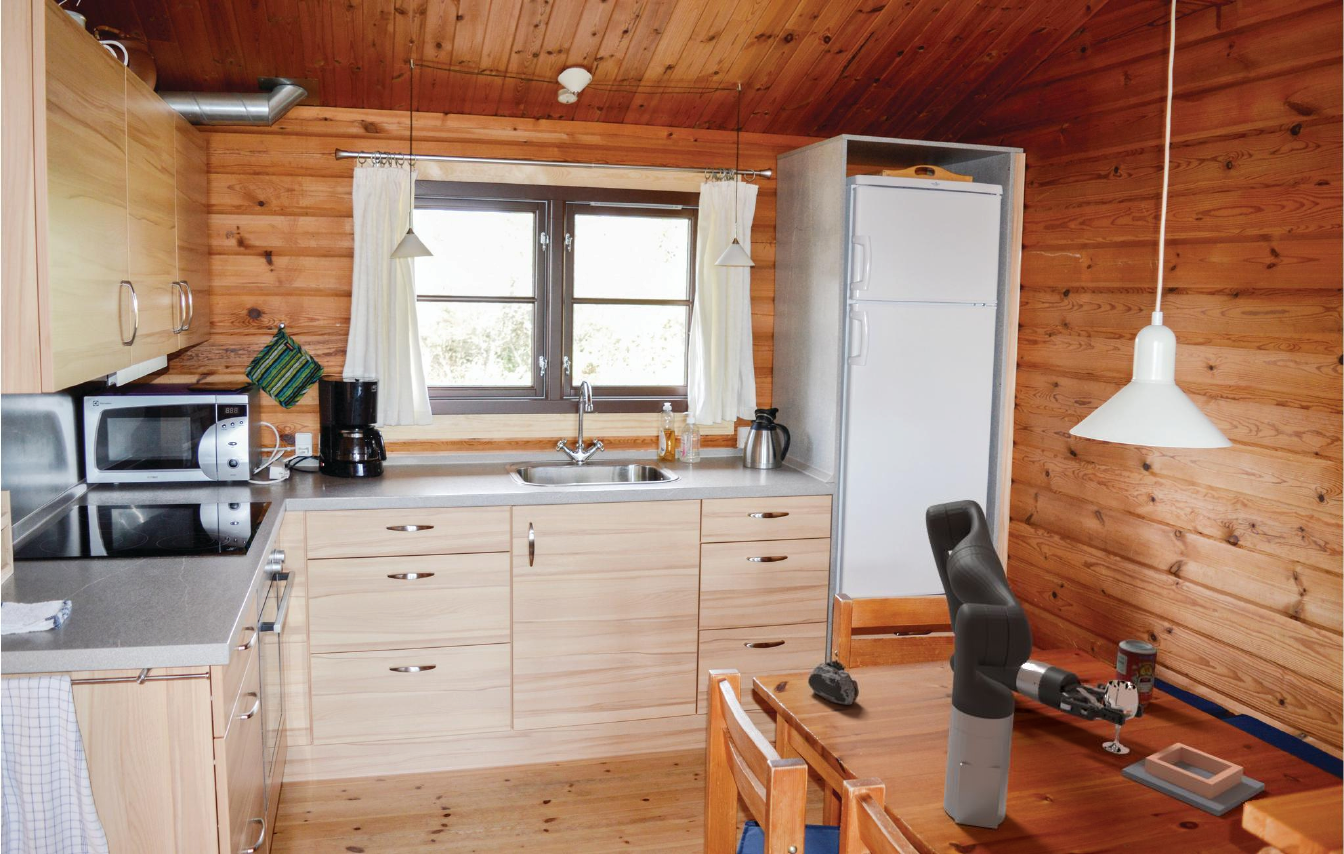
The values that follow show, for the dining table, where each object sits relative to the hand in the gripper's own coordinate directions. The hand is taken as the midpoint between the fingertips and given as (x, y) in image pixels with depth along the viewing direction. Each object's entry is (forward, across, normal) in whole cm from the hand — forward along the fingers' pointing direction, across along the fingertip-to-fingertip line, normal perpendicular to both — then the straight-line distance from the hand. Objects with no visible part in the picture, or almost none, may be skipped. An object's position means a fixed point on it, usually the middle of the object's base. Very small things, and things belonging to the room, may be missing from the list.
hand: (1133, 715), depth 174 cm
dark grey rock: (-46, -26, +7) cm, 53 cm away
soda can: (-12, +24, +7) cm, 27 cm away
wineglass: (-3, 0, +7) cm, 8 cm away
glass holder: (+12, -1, +7) cm, 14 cm away
